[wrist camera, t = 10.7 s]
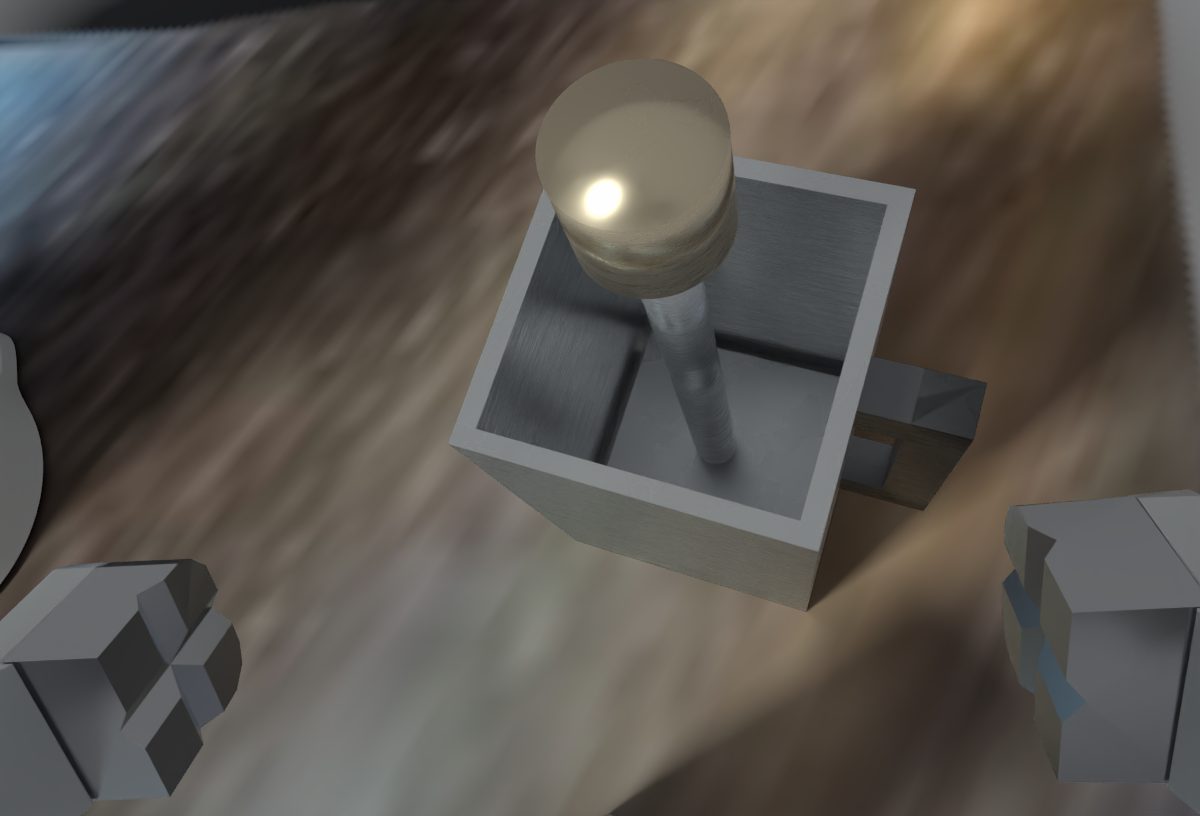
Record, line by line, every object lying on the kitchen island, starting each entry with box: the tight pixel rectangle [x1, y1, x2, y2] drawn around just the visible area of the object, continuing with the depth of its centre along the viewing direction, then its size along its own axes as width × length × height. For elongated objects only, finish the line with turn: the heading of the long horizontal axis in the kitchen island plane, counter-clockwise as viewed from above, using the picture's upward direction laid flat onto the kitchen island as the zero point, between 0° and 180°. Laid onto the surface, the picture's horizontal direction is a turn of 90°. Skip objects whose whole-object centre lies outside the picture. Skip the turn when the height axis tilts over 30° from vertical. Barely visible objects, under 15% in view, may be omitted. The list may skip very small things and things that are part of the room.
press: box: [448, 156, 987, 612], centre depth 32 cm, size 13×10×16 cm
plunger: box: [535, 58, 840, 521], centre depth 28 cm, size 8×8×22 cm
